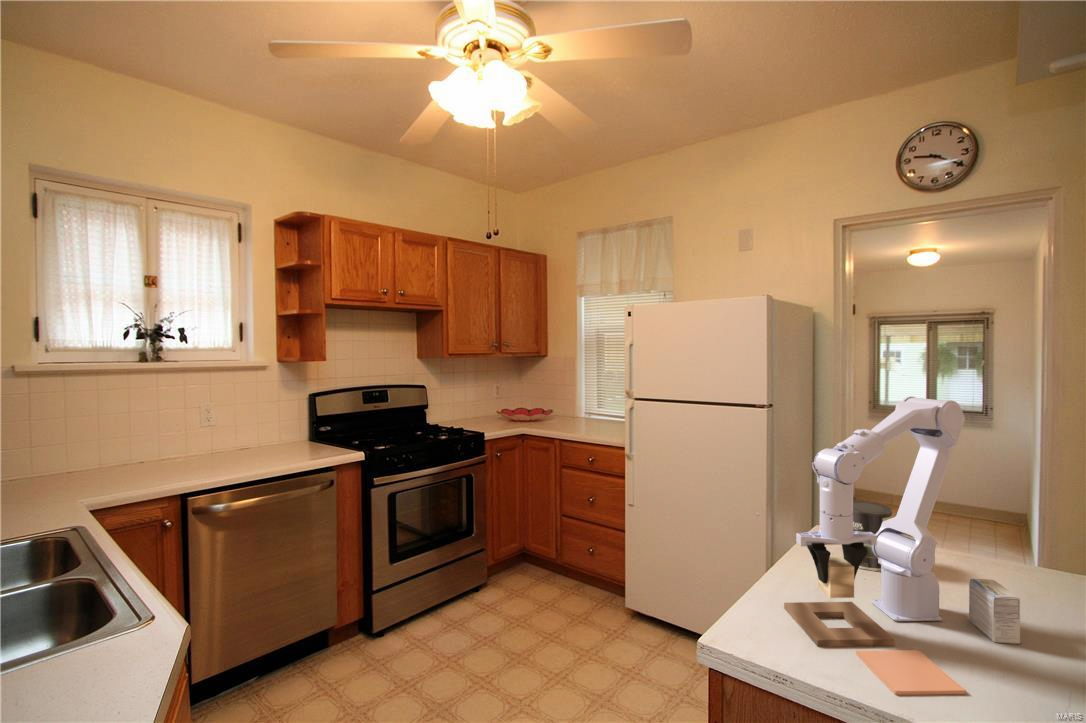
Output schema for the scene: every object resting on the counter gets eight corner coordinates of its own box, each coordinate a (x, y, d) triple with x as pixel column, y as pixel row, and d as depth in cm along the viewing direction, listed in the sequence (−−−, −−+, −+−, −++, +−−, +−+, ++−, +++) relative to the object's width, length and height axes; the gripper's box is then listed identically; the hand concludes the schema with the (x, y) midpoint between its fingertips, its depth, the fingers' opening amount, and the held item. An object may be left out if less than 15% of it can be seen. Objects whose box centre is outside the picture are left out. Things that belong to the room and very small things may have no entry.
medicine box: (1020, 645, 98) (1021, 598, 98) (992, 643, 99) (993, 596, 98) (994, 622, 106) (994, 579, 105) (968, 620, 106) (968, 577, 106)
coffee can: (862, 573, 129) (862, 514, 128) (834, 555, 139) (834, 501, 138) (902, 570, 130) (902, 512, 129) (871, 553, 140) (872, 499, 139)
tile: (918, 653, 96) (918, 650, 96) (965, 694, 85) (965, 690, 85) (855, 654, 96) (855, 650, 96) (895, 694, 85) (895, 691, 85)
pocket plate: (851, 607, 112) (851, 601, 112) (894, 645, 98) (894, 639, 98) (784, 608, 113) (784, 602, 113) (817, 646, 99) (817, 640, 99)
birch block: (841, 586, 107) (841, 557, 107) (854, 597, 103) (854, 566, 103) (818, 587, 108) (818, 557, 107) (830, 597, 103) (830, 567, 103)
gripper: (862, 504, 109) (861, 571, 109) (789, 506, 109) (789, 572, 109) (883, 516, 101) (883, 587, 102) (805, 517, 102) (805, 588, 102)
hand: (836, 580), depth 105 cm, fingers closed on birch block, 4 cm apart
